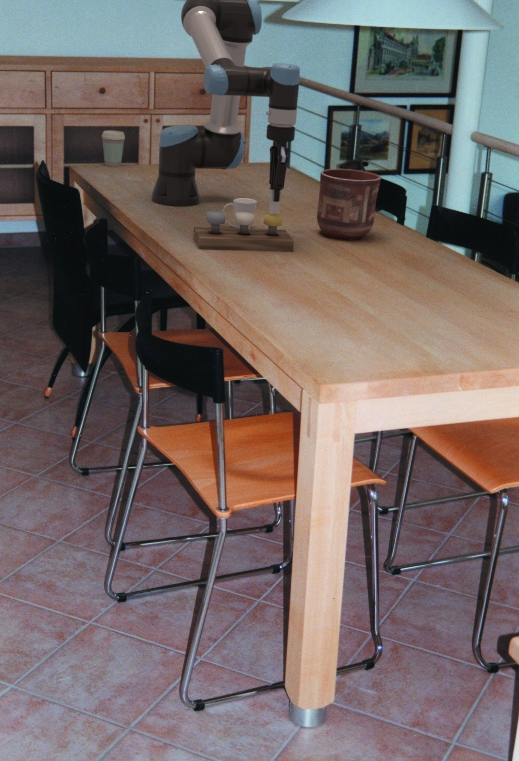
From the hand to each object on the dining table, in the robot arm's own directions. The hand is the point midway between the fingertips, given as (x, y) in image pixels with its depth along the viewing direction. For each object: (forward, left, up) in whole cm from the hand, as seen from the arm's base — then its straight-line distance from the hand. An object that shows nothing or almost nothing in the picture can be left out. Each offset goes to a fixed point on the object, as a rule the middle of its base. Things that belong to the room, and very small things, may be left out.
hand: (274, 212), depth 269 cm
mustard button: (0, 0, -6) cm, 6 cm away
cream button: (0, -8, -6) cm, 10 cm away
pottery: (-14, +25, -10) cm, 30 cm away
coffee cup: (-107, -38, -10) cm, 114 cm away
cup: (-19, -6, -10) cm, 22 cm away
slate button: (0, -16, -6) cm, 17 cm away
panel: (0, -8, -9) cm, 12 cm away
